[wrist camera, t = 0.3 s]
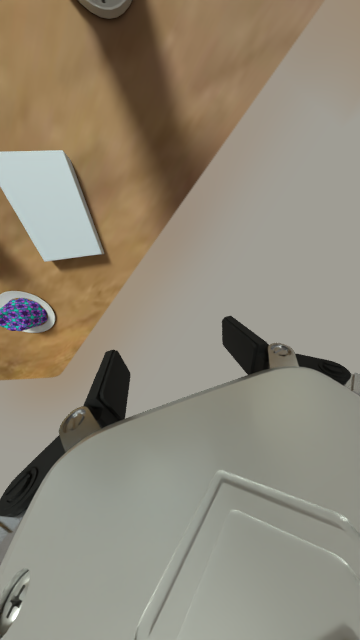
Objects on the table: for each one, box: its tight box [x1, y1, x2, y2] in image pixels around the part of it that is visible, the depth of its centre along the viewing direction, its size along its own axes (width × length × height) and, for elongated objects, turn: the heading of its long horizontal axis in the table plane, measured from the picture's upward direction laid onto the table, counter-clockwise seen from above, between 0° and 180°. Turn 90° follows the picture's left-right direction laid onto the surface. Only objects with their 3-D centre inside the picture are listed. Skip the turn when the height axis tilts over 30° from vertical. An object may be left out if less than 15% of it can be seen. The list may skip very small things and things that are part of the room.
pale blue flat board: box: [0, 150, 105, 261], centre depth 26 cm, size 16×12×3 cm
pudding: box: [0, 291, 55, 333], centre depth 32 cm, size 12×12×5 cm
